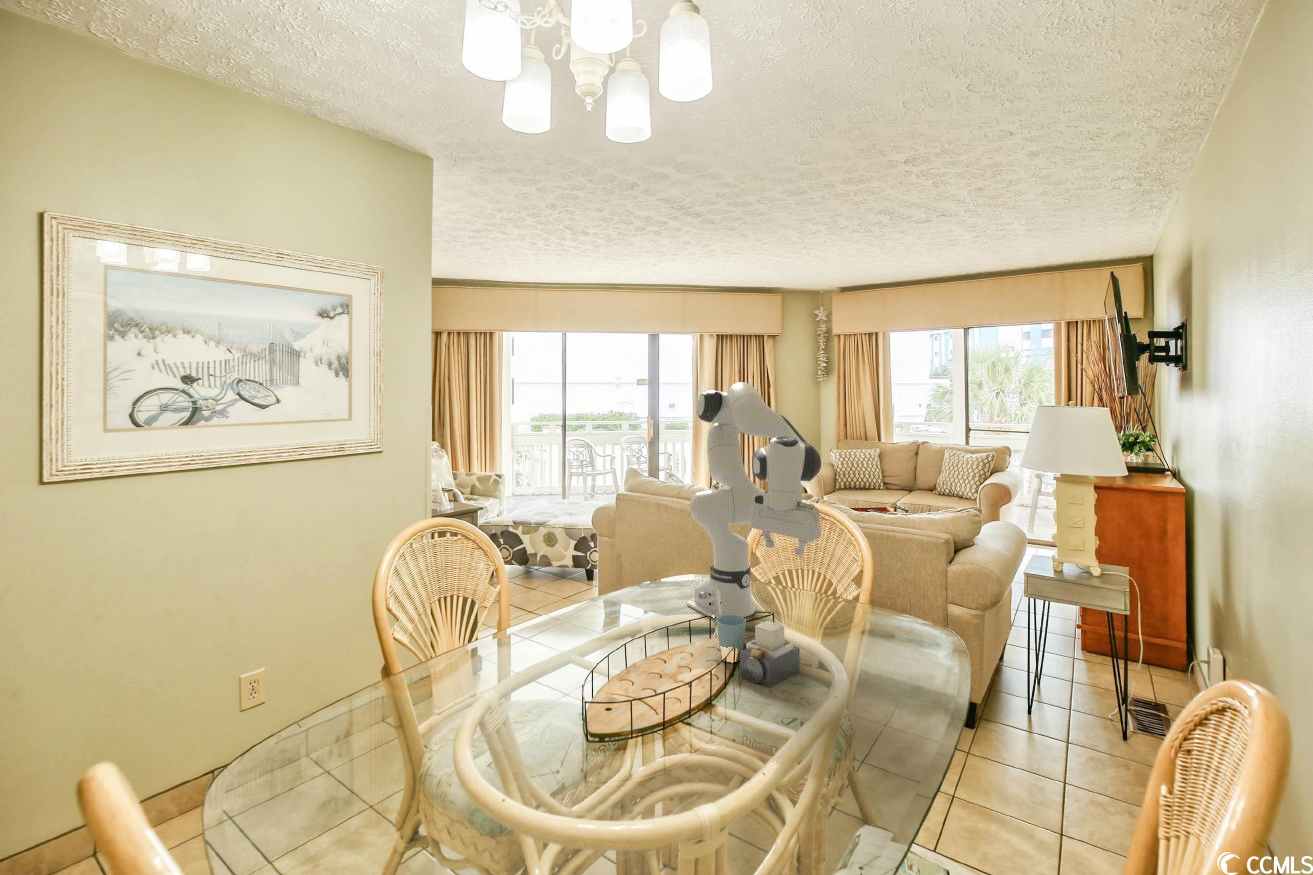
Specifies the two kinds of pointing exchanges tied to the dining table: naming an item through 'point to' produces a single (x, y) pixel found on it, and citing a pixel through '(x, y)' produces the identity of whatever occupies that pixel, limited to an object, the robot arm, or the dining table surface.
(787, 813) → the dining table surface
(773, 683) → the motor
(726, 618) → the cup
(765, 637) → the pump block
